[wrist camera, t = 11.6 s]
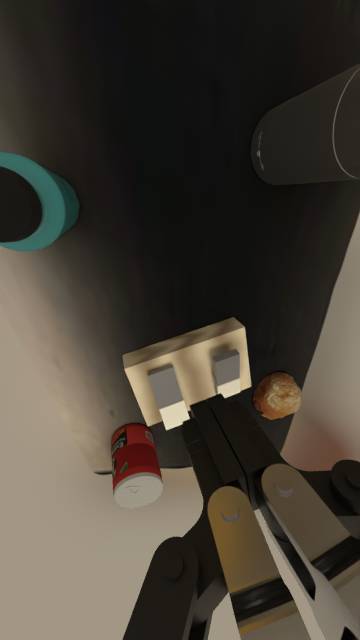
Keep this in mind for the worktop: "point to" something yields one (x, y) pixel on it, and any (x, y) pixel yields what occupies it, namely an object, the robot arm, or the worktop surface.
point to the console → (186, 364)
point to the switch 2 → (227, 373)
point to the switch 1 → (168, 396)
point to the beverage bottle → (33, 204)
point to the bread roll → (277, 396)
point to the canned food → (135, 467)
